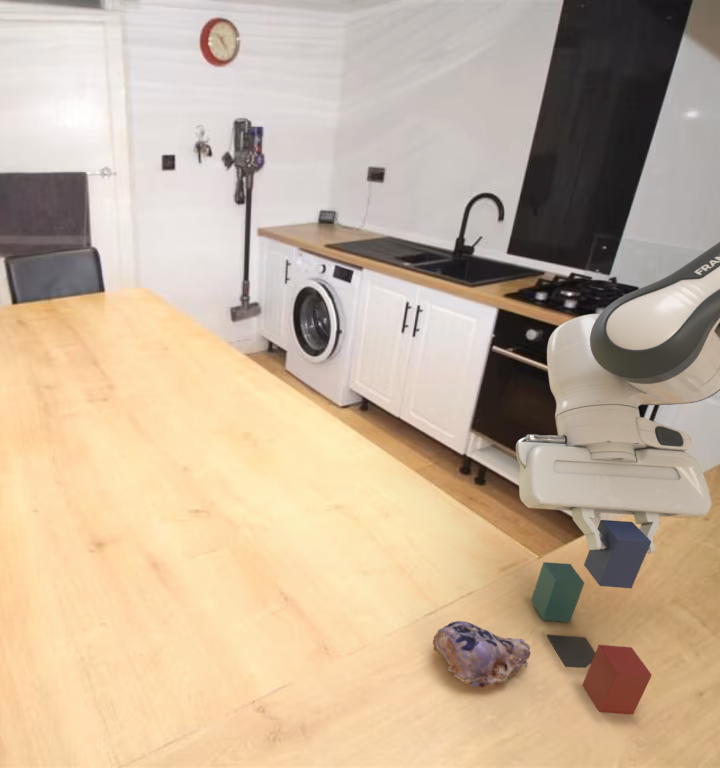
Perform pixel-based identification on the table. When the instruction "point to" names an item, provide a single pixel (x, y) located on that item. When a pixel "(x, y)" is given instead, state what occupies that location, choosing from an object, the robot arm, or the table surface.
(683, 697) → the table surface
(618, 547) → the blue block
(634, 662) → the block line
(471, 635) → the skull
